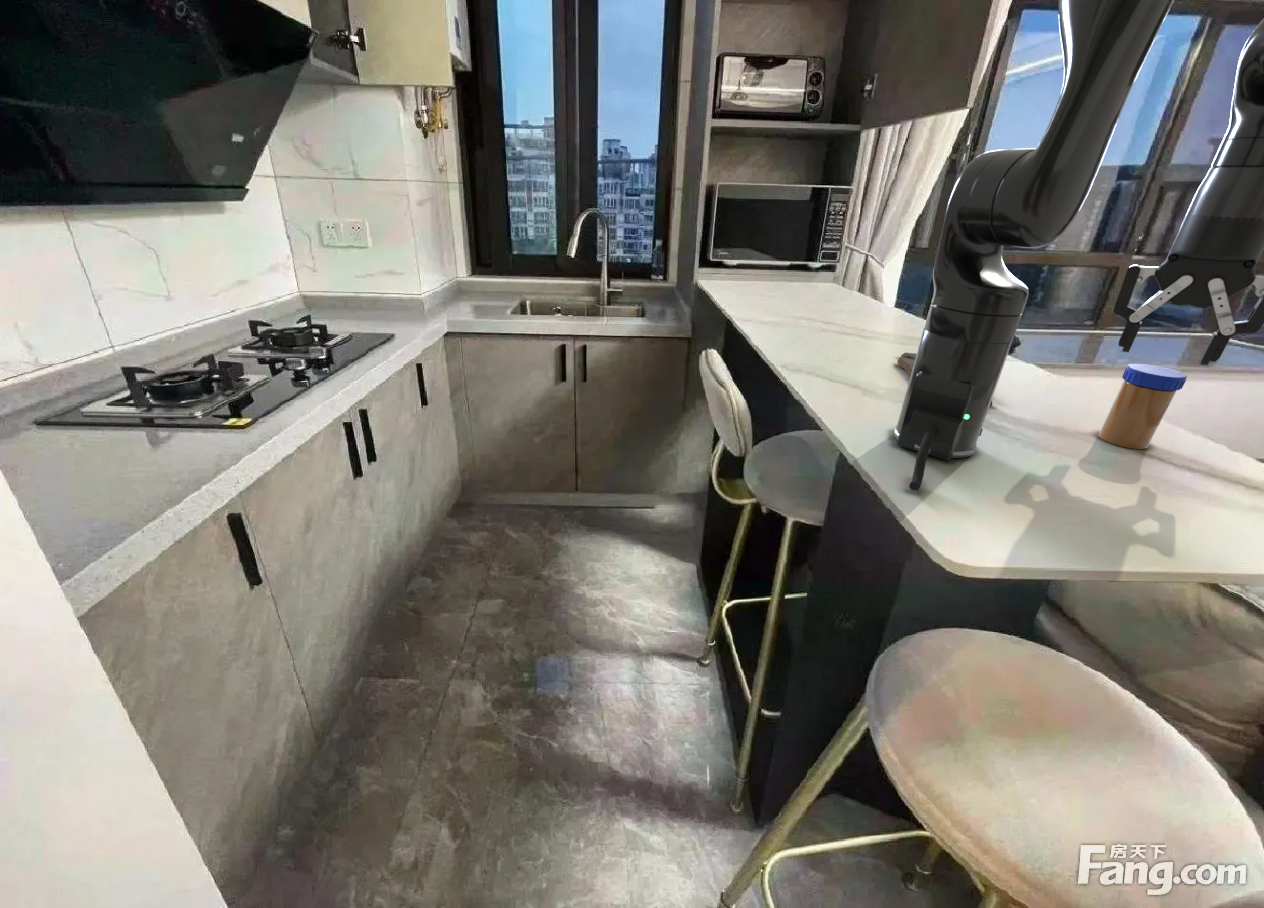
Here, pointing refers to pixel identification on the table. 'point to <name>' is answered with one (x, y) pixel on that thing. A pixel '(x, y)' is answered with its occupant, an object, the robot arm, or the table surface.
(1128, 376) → the lid
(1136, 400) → the jar
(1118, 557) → the table surface
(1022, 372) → the table surface
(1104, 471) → the table surface
